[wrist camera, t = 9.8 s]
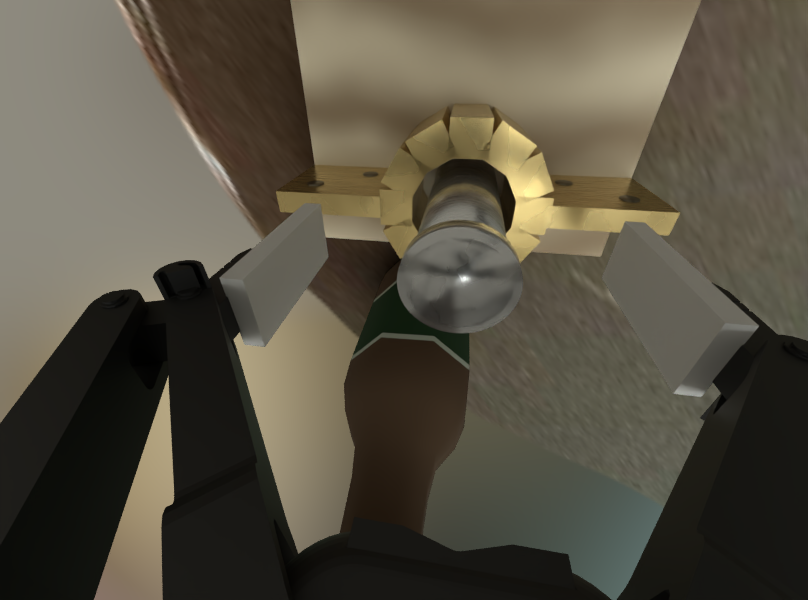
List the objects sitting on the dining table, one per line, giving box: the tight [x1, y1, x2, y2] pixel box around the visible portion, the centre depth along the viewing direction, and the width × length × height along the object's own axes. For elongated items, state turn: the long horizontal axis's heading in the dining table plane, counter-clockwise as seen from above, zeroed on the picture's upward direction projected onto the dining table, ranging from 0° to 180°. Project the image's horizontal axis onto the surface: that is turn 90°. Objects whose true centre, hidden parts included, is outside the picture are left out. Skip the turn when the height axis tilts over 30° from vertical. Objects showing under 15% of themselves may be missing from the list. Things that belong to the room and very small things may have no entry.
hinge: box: [276, 104, 680, 262], centre depth 20 cm, size 9×21×6 cm, turn 90°
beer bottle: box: [340, 259, 469, 535], centre depth 20 cm, size 8×8×24 cm
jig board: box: [290, 0, 701, 257], centre depth 21 cm, size 16×21×1 cm
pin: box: [397, 159, 523, 333], centre depth 17 cm, size 5×5×13 cm
